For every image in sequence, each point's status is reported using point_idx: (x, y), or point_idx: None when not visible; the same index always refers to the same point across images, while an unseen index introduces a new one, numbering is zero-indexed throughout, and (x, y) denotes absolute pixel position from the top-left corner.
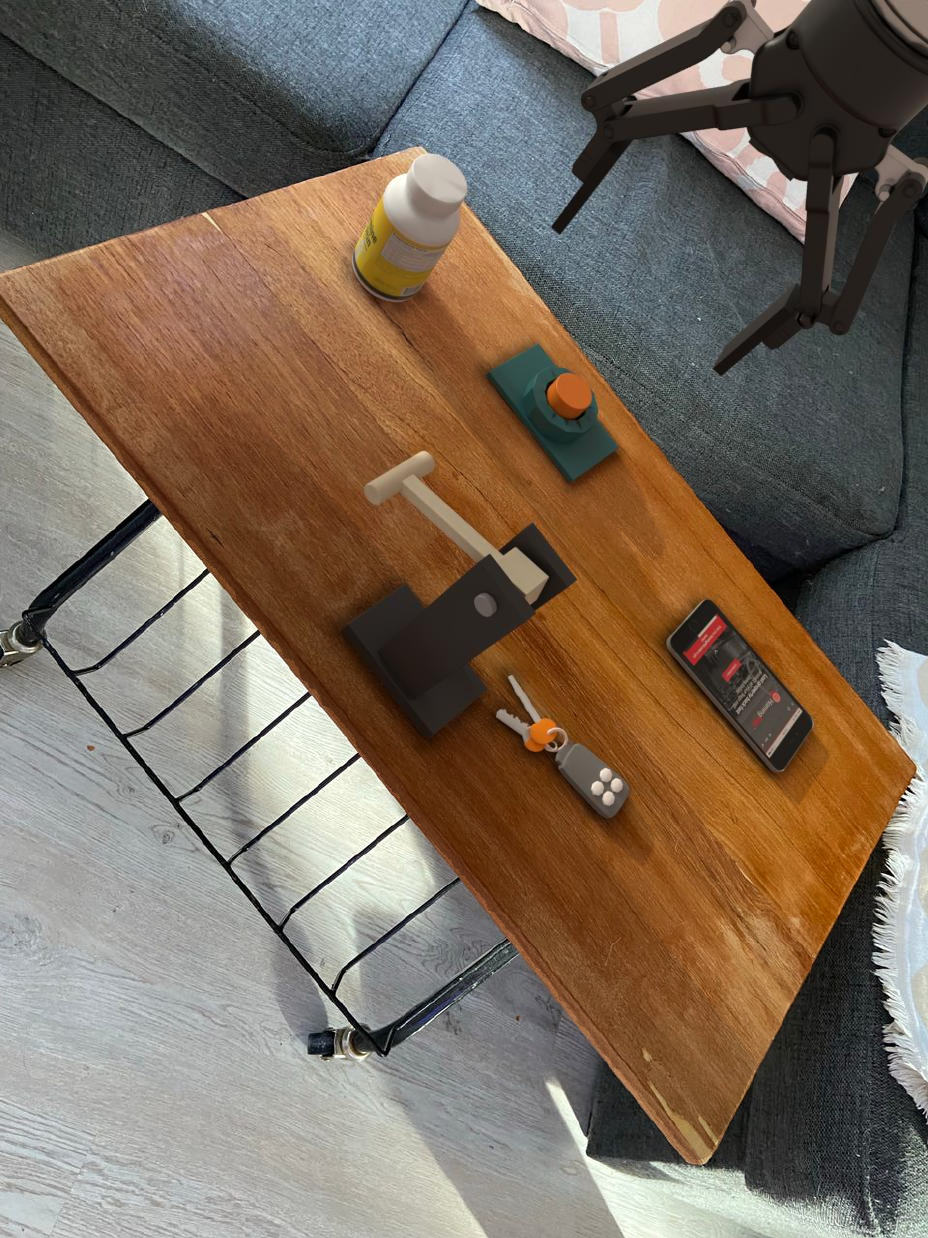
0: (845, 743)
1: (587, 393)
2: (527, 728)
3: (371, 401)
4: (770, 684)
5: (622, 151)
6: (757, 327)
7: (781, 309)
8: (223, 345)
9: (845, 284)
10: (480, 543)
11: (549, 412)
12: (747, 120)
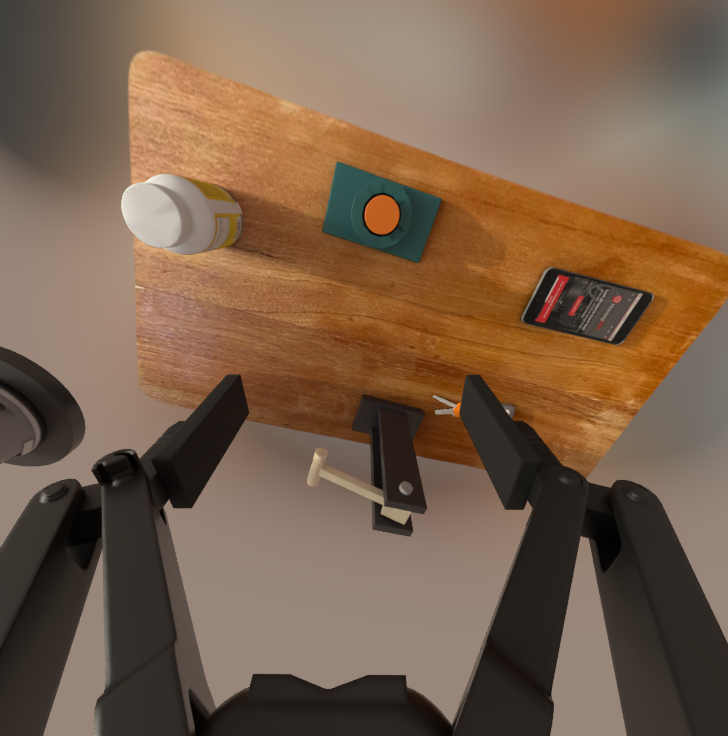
0: (687, 283)
1: (392, 206)
2: (452, 410)
3: (284, 315)
4: (612, 293)
5: (185, 495)
6: (485, 457)
7: (503, 505)
8: (210, 349)
9: (603, 608)
10: (370, 496)
11: (376, 241)
12: None
